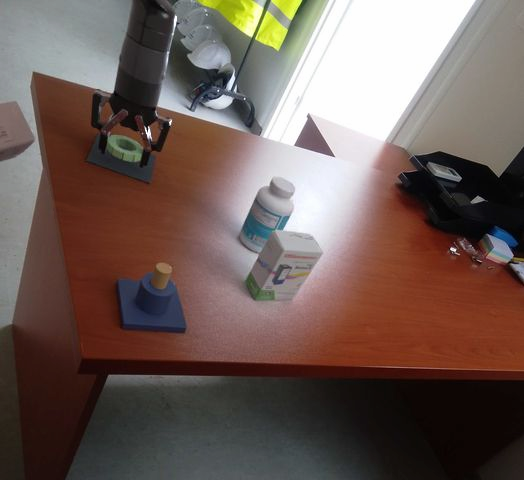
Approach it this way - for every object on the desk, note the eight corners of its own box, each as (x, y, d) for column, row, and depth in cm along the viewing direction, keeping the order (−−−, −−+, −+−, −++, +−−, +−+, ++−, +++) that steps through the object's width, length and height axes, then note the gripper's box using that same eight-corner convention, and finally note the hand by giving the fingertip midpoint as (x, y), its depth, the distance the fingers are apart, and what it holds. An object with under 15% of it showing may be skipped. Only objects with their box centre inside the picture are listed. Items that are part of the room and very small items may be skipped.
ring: (103, 153, 84) (104, 146, 83) (109, 137, 88) (110, 130, 87) (139, 166, 86) (141, 159, 85) (143, 150, 90) (145, 143, 90)
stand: (122, 329, 63) (134, 287, 57) (116, 283, 68) (127, 241, 62) (184, 333, 67) (201, 294, 62) (174, 290, 72) (189, 251, 67)
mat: (86, 161, 85) (86, 160, 85) (97, 134, 93) (98, 133, 93) (149, 184, 89) (150, 183, 89) (156, 156, 97) (156, 155, 97)
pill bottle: (261, 231, 95) (290, 174, 86) (278, 255, 92) (310, 198, 83) (231, 230, 91) (258, 169, 82) (247, 255, 87) (277, 194, 78)
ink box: (281, 281, 86) (311, 231, 78) (293, 301, 83) (325, 251, 76) (243, 281, 81) (270, 227, 73) (254, 301, 79) (284, 248, 71)
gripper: (184, 80, 82) (161, 163, 93) (102, 43, 77) (87, 136, 88) (182, 95, 77) (157, 181, 88) (93, 57, 72) (79, 153, 83)
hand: (122, 158), depth 88 cm, fingers closed on ring, 6 cm apart
